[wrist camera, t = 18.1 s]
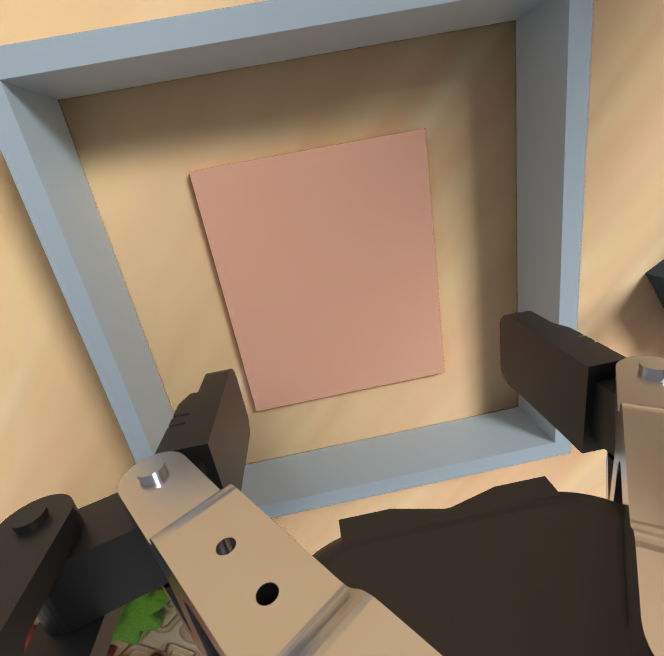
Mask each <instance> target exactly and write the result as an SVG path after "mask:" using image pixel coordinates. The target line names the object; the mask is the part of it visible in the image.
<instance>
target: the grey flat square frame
mask: <svg viewBox="0 0 664 656" xmlns="http://www.w3.org/2000/svg"><path fill="white" fill-rule="evenodd" d="M593 5H594V0H269V1H263V2H257V3H251V4H245V5H239V6H234V7H228V8H222V9H216V10H210V11H204V12H198V13H192V14H186V15H180V16H174V17H168V18H162V19H157V20H151V21H145V22H139V23H133V24H127V25H121V26H115V27H109V28H103V29H97V30H91V31H86V32H80V33H74V34H68V35H62V36H56V37H50V38H44V39H38V40H32V41H26V42H20V43H14V44H9V45H3V46H0V150H1V152H2V154H3V157H4V159H5V161H6V164H7V166H8V168H9V170H10V173H11V175H12V177H13V180H14V182H15V184H16V187H17V189H18V191H19V194H20V196H21V198H22V201H23V203H24V205H25V207H26V210H27V212H28V214H29V217H30V219H31V221H32V224H33V226H34V228H35V231H36V233H37V235H38V238H39V240H40V242H41V244H42V247H43V249H44V251H45V254H46V256H47V258H48V261H49V263H50V265H51V268H52V270H53V272H54V275H55V277H56V279H57V282H58V284H59V286H60V288H61V291H62V293H63V295H64V298H65V300H66V302H67V305H68V307H69V309H70V312H71V314H72V316H73V319H74V321H75V323H76V325H77V328H78V330H79V332H80V335H81V337H82V339H83V342H84V344H85V346H86V349H87V351H88V353H89V356H90V358H91V360H92V363H93V365H94V367H95V369H96V372H97V374H98V376H99V379H100V381H101V383H102V386H103V388H104V390H105V393H106V395H107V397H108V400H109V402H110V404H111V406H112V409H113V411H114V413H115V416H116V418H117V420H118V423H119V425H120V427H121V430H122V432H123V434H124V437H125V439H126V441H127V444H128V446H129V448H130V450H131V453H132V455H133V457H134V460H135V462H136V463H138V462H140V461H141V460H143V459H145V458H147V457H149V456H152V455H155V452H156V450H157V448H158V446H159V444H160V442H161V440H162V438H163V436H164V434H165V432H166V430H167V428H169V424H170V421H171V419H172V418H173V415H174V413H173V411H172V408H171V405H170V402H169V400H168V397H167V394H166V392H165V389H164V386H163V384H162V381H161V378H160V375H159V373H158V370H157V367H156V365H155V362H154V359H153V356H152V354H151V351H150V348H149V346H148V343H147V340H146V338H145V335H144V332H143V329H142V327H141V324H140V321H139V319H138V316H137V313H136V311H135V308H134V305H133V302H132V300H131V297H130V294H129V292H128V289H127V286H126V284H125V281H124V278H123V275H122V273H121V270H120V267H119V265H118V262H117V259H116V256H115V254H114V251H113V248H112V246H111V243H110V240H109V238H108V235H107V232H106V229H105V227H104V224H103V221H102V219H101V216H100V213H99V211H98V208H97V205H96V202H95V200H94V197H93V194H92V192H91V189H90V186H89V183H88V181H87V178H86V175H85V173H84V170H83V167H82V165H81V162H80V159H79V156H78V154H77V151H76V148H75V146H74V143H73V140H72V138H71V135H70V132H69V129H68V127H67V124H66V121H65V119H64V116H63V113H62V111H61V108H60V105H59V102H58V100H61V99H67V98H73V97H78V96H84V95H90V94H96V93H101V92H107V91H113V90H118V89H124V88H130V87H136V86H141V85H147V84H153V83H158V82H164V81H170V80H176V79H181V78H187V77H193V76H198V75H204V74H210V73H216V72H221V71H227V70H233V69H239V68H244V67H250V66H256V65H261V64H267V63H273V62H279V61H284V60H290V59H296V58H301V57H307V56H313V55H319V54H324V53H330V52H336V51H341V50H347V49H353V48H359V47H364V46H370V45H376V44H382V43H387V42H393V41H399V40H404V39H410V38H416V37H422V36H427V35H433V34H439V33H444V32H450V31H456V30H462V29H467V28H473V27H479V26H484V25H490V24H496V23H502V22H507V21H513V20H516V131H517V281H518V313H519V312H524V311H532V312H534V313H536V314H538V315H540V316H541V317H543V318H545V319H547V320H549V321H550V322H552V323H555V324H559V325H563V326H567V327H570V328H572V329H574V330H576V331H577V321H578V301H579V281H580V262H581V242H582V222H583V202H584V183H585V163H586V143H587V123H588V104H589V84H590V64H591V44H592V25H593ZM568 453H571V442H570V441H569V440H568V439H566V438H565V437H564V436H563V435H562V434H561V433H560V432H559V431H558V430H557V429H556V428H555V427H554V426H553V425H552V424H551V423H550V422H548V421H547V420H546V419H545V418H544V417H543V416H542V415H541V414H540V413H539V412H538V411H537V410H536V409H535V408H534V407H533V406H531V405H530V404H529V403H528V402H527V401H526V400H525V399H524V398H523V397H522V396H521V395H520V394H519V393H518V407H515V408H510V409H506V410H501V411H496V412H491V413H487V414H482V415H477V416H473V417H468V418H463V419H458V420H454V421H449V422H444V423H440V424H435V425H430V426H425V427H421V428H416V429H411V430H407V431H402V432H397V433H392V434H388V435H383V436H378V437H374V438H369V439H364V440H360V441H355V442H350V443H345V444H341V445H336V446H331V447H327V448H322V449H317V450H312V451H308V452H303V453H298V454H294V455H289V456H284V457H279V458H275V459H270V460H265V461H261V462H256V463H251V464H246V465H245V469H244V476H243V483H242V489H241V492H242V493H243V494H244V495H245V496H246V497H247V498H248V499H250V500H251V501H252V502H253V503H254V504H255V505H256V506H257V507H259V508H260V509H261V510H262V511H263V512H264V513H265V514H266V515H267V516H269V517H270V518H275V517H279V516H284V515H288V514H293V513H298V512H302V511H307V510H311V509H316V508H321V507H325V506H330V505H334V504H339V503H344V502H348V501H353V500H357V499H362V498H366V497H371V496H376V495H380V494H385V493H389V492H394V491H399V490H403V489H408V488H412V487H417V486H422V485H426V484H431V483H435V482H440V481H445V480H449V479H454V478H458V477H463V476H467V475H472V474H477V473H481V472H486V471H490V470H495V469H500V468H504V467H509V466H513V465H518V464H523V463H527V462H532V461H536V460H541V459H545V458H550V457H555V456H559V455H564V454H568Z"/></svg>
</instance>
